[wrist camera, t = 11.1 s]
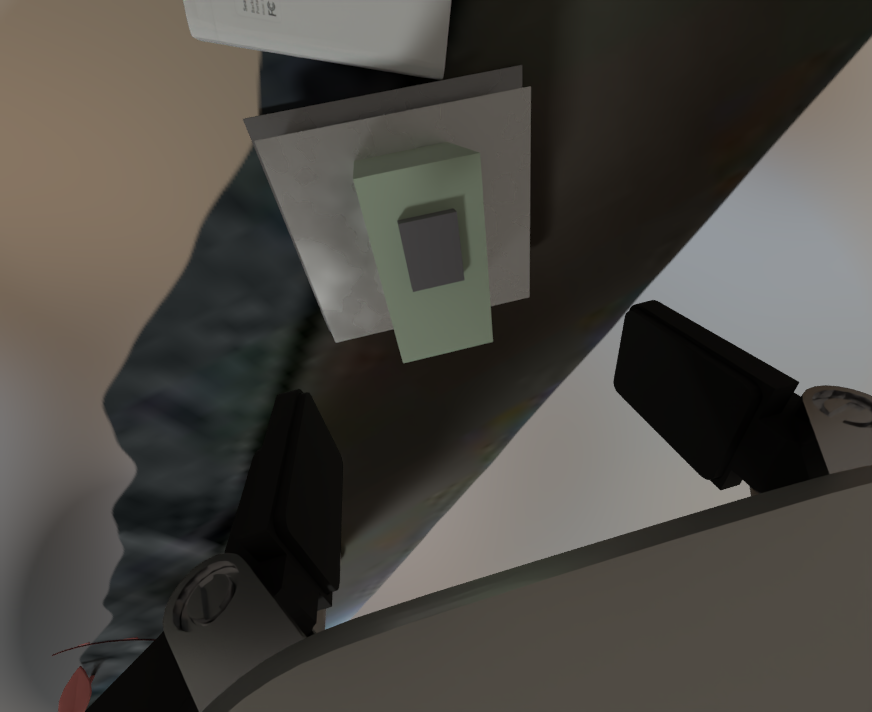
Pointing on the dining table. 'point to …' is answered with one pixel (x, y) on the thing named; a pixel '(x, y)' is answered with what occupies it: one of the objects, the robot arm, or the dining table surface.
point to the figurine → (80, 687)
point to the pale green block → (429, 245)
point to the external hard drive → (332, 30)
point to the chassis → (384, 134)
